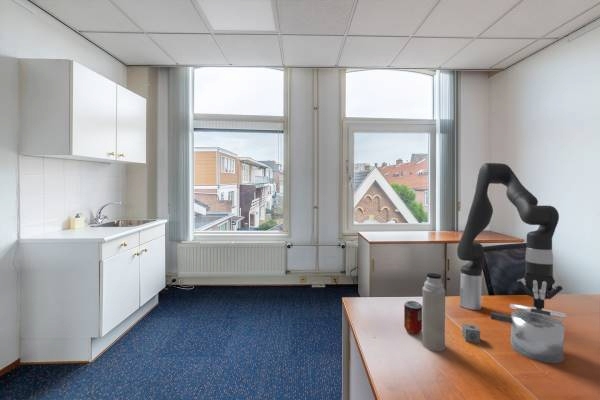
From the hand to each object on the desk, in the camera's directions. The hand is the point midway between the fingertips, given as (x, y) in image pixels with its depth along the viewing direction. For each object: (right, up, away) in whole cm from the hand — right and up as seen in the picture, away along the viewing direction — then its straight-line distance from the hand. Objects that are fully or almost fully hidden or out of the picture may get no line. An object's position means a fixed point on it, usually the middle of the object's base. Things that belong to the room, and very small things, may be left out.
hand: (538, 308), depth 101 cm
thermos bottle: (-34, -18, +8) cm, 39 cm away
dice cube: (-17, -18, +13) cm, 27 cm away
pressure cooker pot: (0, -17, +7) cm, 18 cm away
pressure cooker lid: (+2, -3, +3) cm, 4 cm away
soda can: (-38, -17, +19) cm, 46 cm away
